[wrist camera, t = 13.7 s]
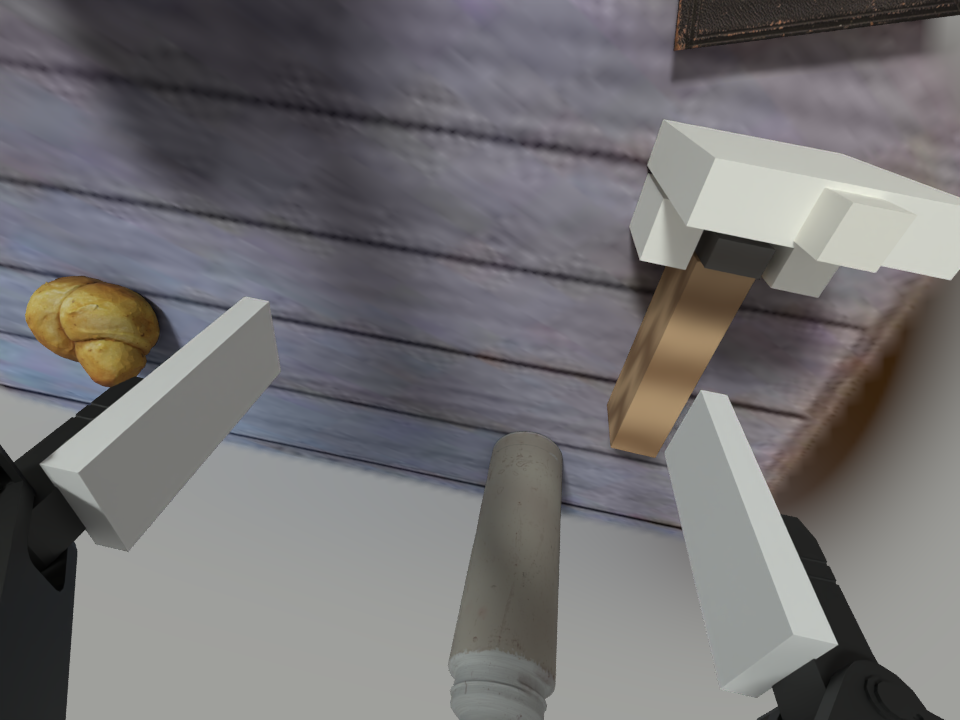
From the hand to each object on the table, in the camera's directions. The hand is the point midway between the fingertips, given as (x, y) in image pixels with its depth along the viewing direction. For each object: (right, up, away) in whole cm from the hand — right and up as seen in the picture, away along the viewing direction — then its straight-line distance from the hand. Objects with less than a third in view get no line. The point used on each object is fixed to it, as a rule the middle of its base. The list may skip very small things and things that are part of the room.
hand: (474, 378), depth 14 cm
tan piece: (+16, +3, +26) cm, 31 cm away
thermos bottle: (+6, -10, +37) cm, 39 cm away
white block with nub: (+18, +13, +19) cm, 29 cm away
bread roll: (-40, +7, +35) cm, 54 cm away
